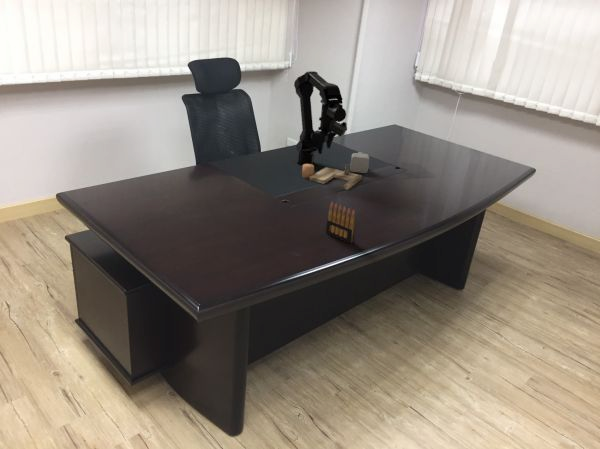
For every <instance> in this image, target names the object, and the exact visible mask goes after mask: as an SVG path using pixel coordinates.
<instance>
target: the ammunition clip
mask: <svg viewBox="0 0 600 449" xmlns="http://www.w3.org/2000/svg"><path fill="white" fill-rule="evenodd" d="M355 215H356V211H355V209H353V210H352V211H351V208H350V207H348V208H347V207H346V206H345V205H344V206H343V208H342V204H339V206H338V203H337V202H336V203H335V204H334V202H333V201H331V203H330V204H329V211H328V215H327V216H328V217H327V218H328V219H327V220H326V225H325V226H326V227H325V234H326V233H327V235H328V234H329V235H328V236H331V237H333V236H334V238H336V237H337V238H336V239H338V238H339V239H338V240H340V239H342V240H341V241H343V240H344V241H343V242H345V241H346V242H345V243H347V242H348V243H347V244H350V243H351V244H353V243H355V230H356V228H355V223H356V221H355V220H356V219H355ZM352 242H353V243H352Z"/></svg>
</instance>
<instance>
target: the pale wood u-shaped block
mask: <svg viewBox="0 0 600 449" xmlns="http://www.w3.org/2000/svg"><path fill="white" fill-rule="evenodd" d="M350 166H351V163H346V164H345V166H344V170H340V169H336V168H331V167H327V166H324V168H322V169H320V170H319V171H317V172H315V173H314V174H313V175H312V176H311V177H310V178H309V181H311V182H314V183H319V184H323V185H325V184H327V183H328V182H329V181H331V180H332V179H333V178H335V179H340V180H343V181H347V182H345V183H344V184H343V187H342V188H343V190H347V191H348V190H349V189H350V188H352V187H353V186H355V185H356V184H358V182H360V181H361V180H362V178H363V175H361V174H357V173H355V172H350Z"/></svg>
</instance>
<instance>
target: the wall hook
mask: <svg viewBox="0 0 600 449" xmlns="http://www.w3.org/2000/svg"><path fill="white" fill-rule="evenodd" d="M369 165H370V155H369V154H368V153H363V152H362V151H358V152H353V153H352V154H351V159H350V168H349V171H351V173H363V174H366V173H368V172H369Z"/></svg>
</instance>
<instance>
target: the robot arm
mask: <svg viewBox="0 0 600 449" xmlns="http://www.w3.org/2000/svg"><path fill="white" fill-rule="evenodd" d="M293 84H294V86H293V87H294V89H295V93H296V95H297V97H298V98H299V103H300V105H299V106H300V115H301V116H300V117H301V128H302V131H301V133H300V135H299V141H298V142H297V143H296V145H295V149H296V151H297V152H298V161H297V162H296V164H298V165H302V166H303V165H304V164H312V165H314V164H315V154H314V153H315V152H318V154H319V155H322V154H323V150H324V146H325V144H326V147H327V149H330V148H331V147H332V144H333V141H334V138H335V137H336V136H338V137H340V138H341V137H343V136H344V135H345V133H346V132H347V131H348V126H347V123H346V122H345V121H344V120H345V119H346V117H347V111H346V110H345V108H343V107H344V106H343V96H342V92H341V90H340V87H339V86H338V85H337V84H335V83H331V82H328V81H327V80H325V79H324V78H323V77H322V76H320V75H319V73H318V71H313V70H311V71H310V70H309V71H306V72H305V73H304V74H302V75H299V76H298V77H297V78H296V80H295V81H294V83H293ZM314 88H315V89H317V90H318V91H319V94H318V95H319V97H320V98H321V100H320V103H321V114H320V117H319V118H318V121H320V124H319V125H320V126H318V128H317V130H314V128H313V127H314V125H313V124H314V123H313V114H312V113H313V111H312V101H311V97H312V95H313V93H314Z"/></svg>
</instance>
